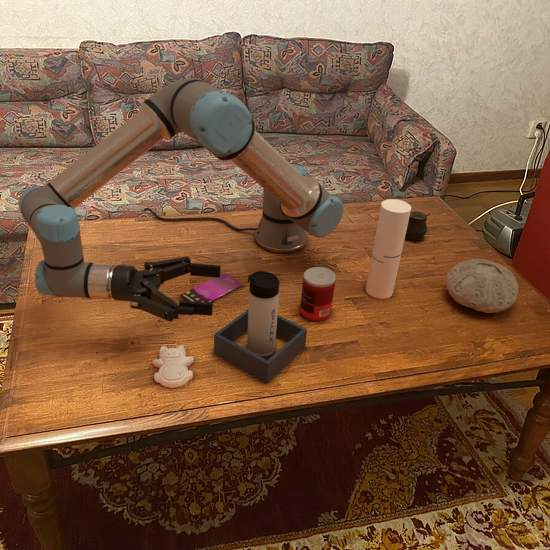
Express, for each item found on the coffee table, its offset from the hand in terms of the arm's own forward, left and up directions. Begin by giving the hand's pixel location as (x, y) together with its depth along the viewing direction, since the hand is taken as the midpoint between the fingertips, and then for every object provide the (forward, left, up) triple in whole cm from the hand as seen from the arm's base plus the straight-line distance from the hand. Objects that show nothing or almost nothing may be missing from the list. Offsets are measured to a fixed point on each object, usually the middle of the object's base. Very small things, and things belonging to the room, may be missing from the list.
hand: (216, 289), depth 116 cm
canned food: (+10, +25, -16) cm, 32 cm away
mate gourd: (+13, +77, -16) cm, 80 cm away
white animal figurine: (-3, -11, -16) cm, 20 cm away
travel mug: (+8, +5, -16) cm, 19 cm away
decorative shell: (+40, +57, -16) cm, 72 cm away
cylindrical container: (+18, +44, -16) cm, 51 cm away
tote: (+8, +5, -16) cm, 19 cm away
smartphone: (-15, +15, -16) cm, 27 cm away
